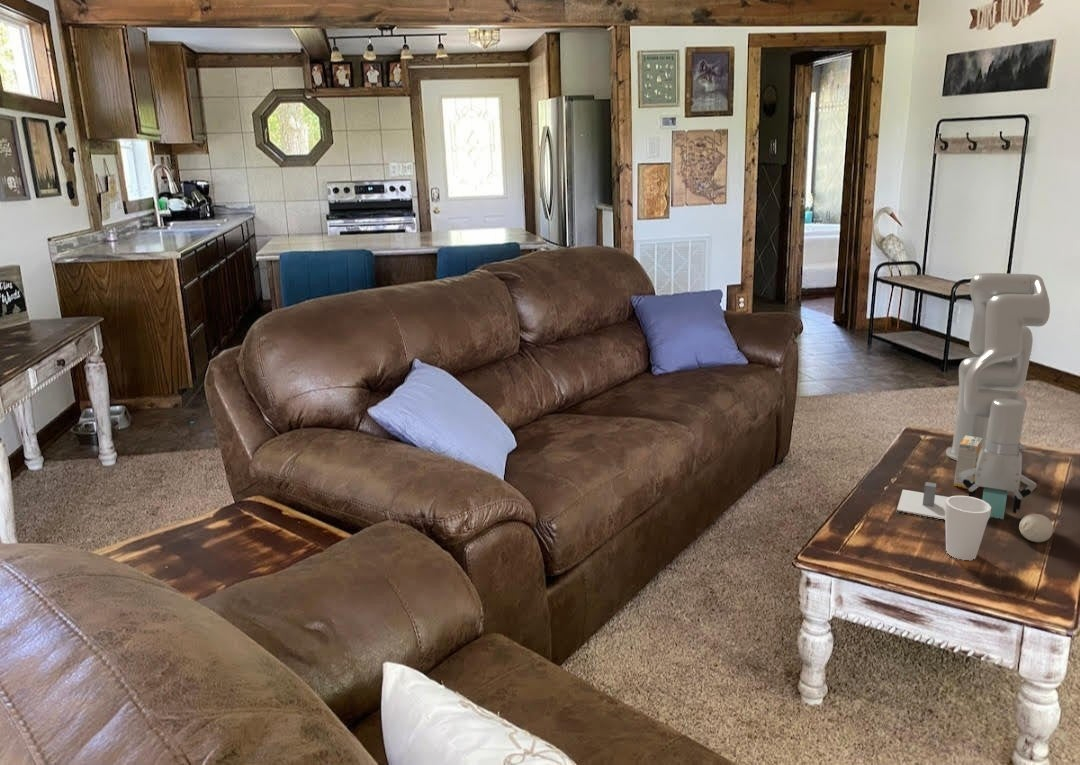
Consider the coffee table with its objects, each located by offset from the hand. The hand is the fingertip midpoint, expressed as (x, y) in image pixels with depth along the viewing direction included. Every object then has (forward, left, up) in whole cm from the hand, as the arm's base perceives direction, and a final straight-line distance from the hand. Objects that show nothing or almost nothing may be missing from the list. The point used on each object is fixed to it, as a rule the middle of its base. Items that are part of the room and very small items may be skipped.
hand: (993, 507), depth 206 cm
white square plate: (+3, -15, -2) cm, 15 cm away
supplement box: (-18, -7, -2) cm, 19 cm away
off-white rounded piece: (+12, +9, -2) cm, 15 cm away
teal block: (0, 0, -2) cm, 2 cm away
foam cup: (+27, -6, -2) cm, 28 cm away
